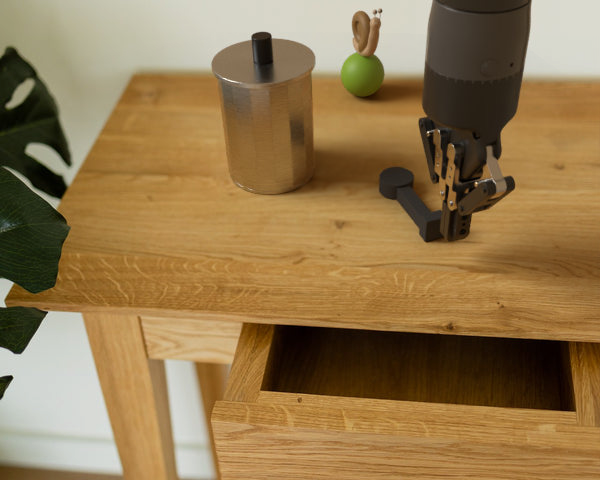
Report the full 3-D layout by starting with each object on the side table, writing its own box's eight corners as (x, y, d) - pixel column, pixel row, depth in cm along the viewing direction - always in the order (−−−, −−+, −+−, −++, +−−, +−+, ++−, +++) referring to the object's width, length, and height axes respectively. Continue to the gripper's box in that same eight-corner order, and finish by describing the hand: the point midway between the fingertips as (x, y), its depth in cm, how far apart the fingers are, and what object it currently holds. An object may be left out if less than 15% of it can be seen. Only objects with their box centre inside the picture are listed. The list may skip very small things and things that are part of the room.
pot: (298, 141, 89) (293, 38, 80) (326, 183, 82) (324, 75, 74) (220, 158, 87) (206, 54, 78) (243, 202, 80) (230, 94, 72)
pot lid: (296, 41, 81) (294, 7, 79) (330, 82, 74) (330, 46, 71) (201, 59, 79) (197, 25, 77) (227, 103, 72) (223, 67, 69)
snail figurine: (356, 111, 93) (357, 14, 85) (333, 90, 98) (332, -4, 90) (395, 101, 95) (399, 5, 87) (371, 80, 99) (373, -13, 91)
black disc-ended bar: (404, 177, 82) (405, 158, 81) (451, 235, 74) (454, 215, 73) (373, 185, 81) (374, 165, 80) (418, 243, 74) (419, 223, 72)
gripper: (568, 81, 54) (528, 268, 66) (476, 15, 64) (456, 189, 75) (473, 102, 52) (450, 290, 64) (394, 30, 62) (386, 206, 73)
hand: (453, 235), depth 70 cm, fingers closed
